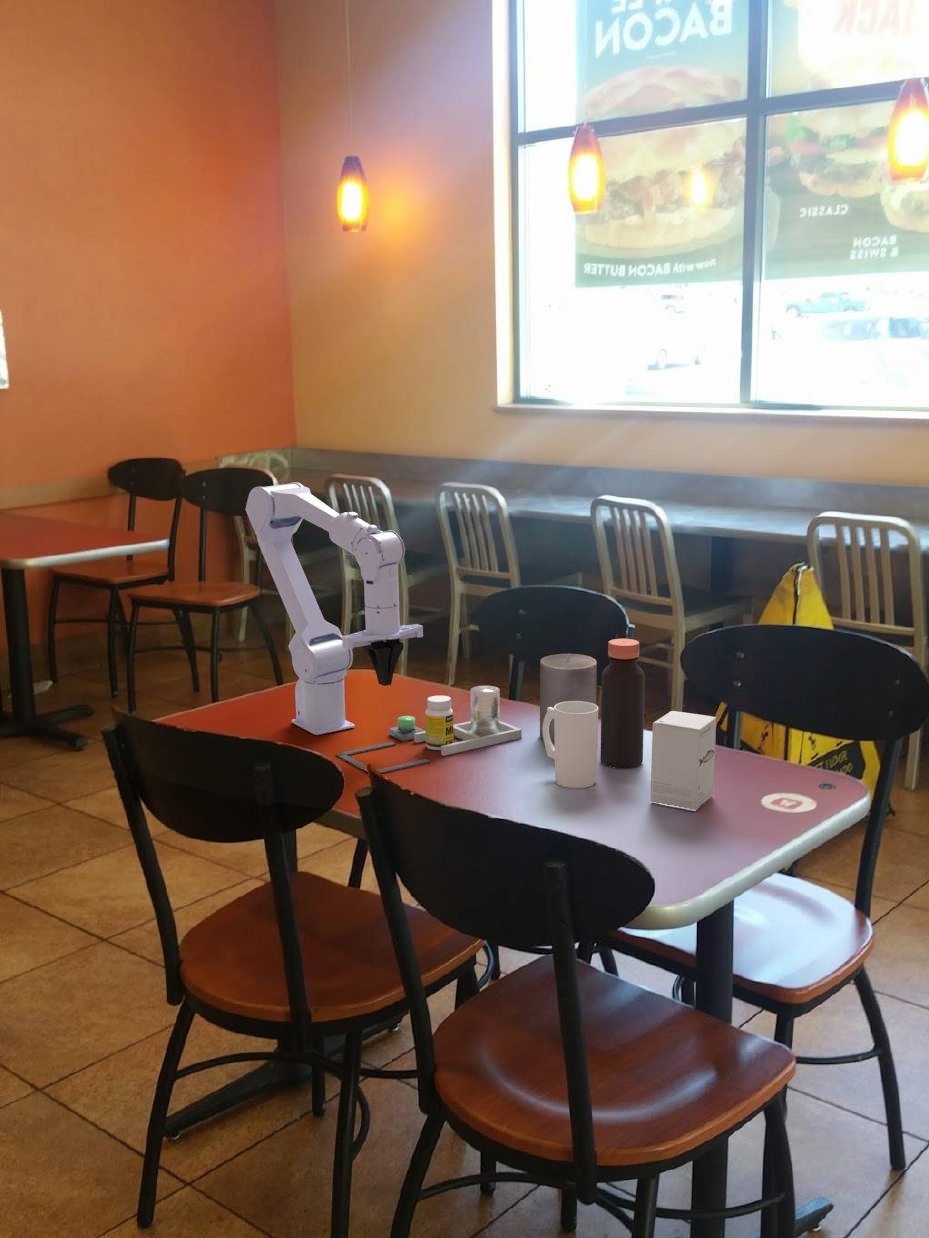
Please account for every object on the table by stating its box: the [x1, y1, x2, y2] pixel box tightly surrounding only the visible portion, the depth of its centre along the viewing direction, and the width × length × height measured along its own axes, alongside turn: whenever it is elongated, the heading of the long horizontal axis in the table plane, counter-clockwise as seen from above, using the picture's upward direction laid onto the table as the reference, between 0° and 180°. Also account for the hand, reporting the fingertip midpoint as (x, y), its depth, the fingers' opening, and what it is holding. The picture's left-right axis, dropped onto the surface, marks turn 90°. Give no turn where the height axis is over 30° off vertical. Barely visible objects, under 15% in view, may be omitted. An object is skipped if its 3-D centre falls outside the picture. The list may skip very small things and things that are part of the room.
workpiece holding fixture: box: [413, 720, 522, 757], centre depth 211 cm, size 9×16×2 cm, turn 124°
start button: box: [397, 715, 416, 732], centre depth 213 cm, size 3×3×3 cm
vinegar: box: [600, 638, 646, 769], centre depth 197 cm, size 7×7×20 cm
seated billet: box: [470, 685, 501, 737], centre depth 212 cm, size 5×5×8 cm
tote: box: [335, 741, 431, 774], centre depth 202 cm, size 12×11×1 cm
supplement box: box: [649, 710, 717, 809], centre depth 181 cm, size 7×7×13 cm
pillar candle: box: [539, 652, 598, 746], centre depth 210 cm, size 10×10×15 cm
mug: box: [542, 701, 600, 789], centre depth 191 cm, size 10×7×12 cm, turn 45°
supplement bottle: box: [424, 695, 455, 751], centre depth 207 cm, size 5×5×8 cm
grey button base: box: [388, 725, 425, 742], centre depth 213 cm, size 4×4×1 cm
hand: (384, 684), depth 208 cm, fingers closed
